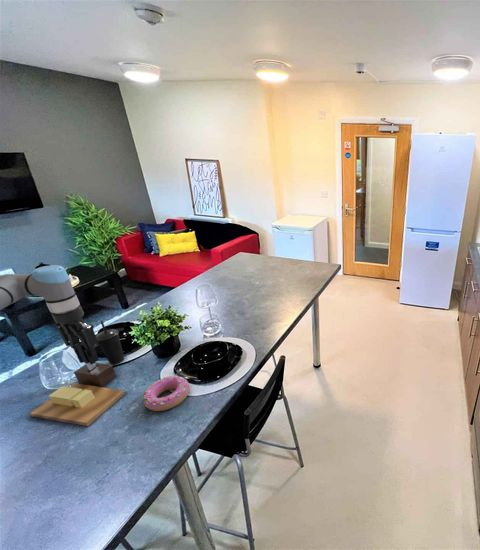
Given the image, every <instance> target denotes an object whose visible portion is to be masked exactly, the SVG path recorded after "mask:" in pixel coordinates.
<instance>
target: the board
mask: <svg viewBox="0 0 480 550" xmlns="http://www.w3.org/2000/svg"><path fill="white" fill-rule="evenodd" d="M72 383H73V384H72ZM72 383H71V384H72V385H71V387H72V388H78V389H82V390H83V391H84V390H91V391H92V393H93V395H94V397H95V398H94V399H93V400H91V401H90V402H89V403H88V404H86V405H85V406H84V407H83V408H78V407H75V405H74V406H66V405H60V404H54V403H52V401H51V399H50V398H49V399H48V400H46V401H44V402H43V403H41V405H39V406H37V407H36V408H35V409H33V410H32V411H31V412H29V415H30V417H32V418H33V417H34V418H38V419H39V418H40V419H44V420H45V419H46V420H50V421H57V422H62V423H69V424H74V425H81V426H84V427H85V426H87V427H89V425H91V424H93V422H95V420H97V419H98V418H99V417H100V416H101V415H103V414H104V413H105V412H106V411H107V410H108V409H109V408H111V406H113V405H114V404H115V403H116V402H118V401H119V400H120V399H121V398H122V397H123V396H125V395H126V392H125V390H122V389H114V388H110V387H104V386H103V387H97V386H90V385H84V384H79V383H77V382H72Z"/></svg>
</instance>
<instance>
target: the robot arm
mask: <svg viewBox="0 0 480 550" xmlns="http://www.w3.org/2000/svg"><path fill="white" fill-rule="evenodd" d="M73 287H74V286H73V284H72V282H71V277H70V275H69V274H68V273H67V271H66V269H65V267H64V266H62V265H59V264H51V265H45V266H40V267H38V268H35V269H33V270H32V272H31V273H6V274H5V273H4V274H0V311H2V310H3V309H5V308H7V307H9V306H11V305H13V304H14V303H16V302H18V301H19V300H22V299H23V298H27V297H40V296H42V299H43V300H44V301H45V302H44V303H45V304H46V306H47V308H48V310H49V312H50V314H51V316H52V318H53V320H54V322H55V323H54V324H53V326H54V328H55V329H57V331H58V334H59V335H60V337H61V339H62V341H63V342H64V345H65V346H66V347H70V348H71V349H72V350H73V351H74V353H75V355H76V357H77V359H78V361H79V363H80V364H84V362H83V361H82V359H81V357H80V355H79V352H78V350H77V348H76V346H75V345H77V344H78V343H80V342H82V344H83V346H84V347H85V350H84V351H85V353H86V355H87V358H88V360H89V362H90V364H94V363H95V362H96V363H98V361H99V360H100V358H99V355H98V353H97V350H96V348H97V347H98V346H99V344H98V341H97V338H96V333H95V331H94V325H93V323H90V324H87V323H86V322H85V320H84V319H83V317H84V316H85V312H84V310H83V307H82V305H81V304H80V300H79V298H78V296H77V294H76V291H75V289H74V288H73Z"/></svg>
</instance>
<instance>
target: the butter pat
mask: <svg viewBox="0 0 480 550" xmlns="http://www.w3.org/2000/svg"><path fill="white" fill-rule="evenodd" d="M94 398H95V397H94V395H93V393H92V391H91V390H84V391H82V392H81V393H80V394H78V395H77V396H76V397H74V398H73V399H72V401H73V403H74V405H75V407H78V408H83V407H84V406H85V405H86V404H88V403H89V402H90V401H91V400H93V399H94Z"/></svg>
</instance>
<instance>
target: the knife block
mask: <svg viewBox="0 0 480 550" xmlns="http://www.w3.org/2000/svg"><path fill="white" fill-rule="evenodd" d="M96 364H97V366H98V367H96V368H95V369H93V370H92V371H90V372H89V371H88V369H87V366H86V364H85V363H84V365H82V366H80V367H79V368H78V369H76V370H74V371H73V374H74V376H75V378H76V380H77V382H78V384H84V385H90V386H97V387H103V388H104V387H105V386H106V385H107V384H109V383H110V382H111V381H113V380H114V379H115V378H117V374H116V372H115V370H114V367H113V364H110V363H109V364H108V363H103V362H96Z"/></svg>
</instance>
